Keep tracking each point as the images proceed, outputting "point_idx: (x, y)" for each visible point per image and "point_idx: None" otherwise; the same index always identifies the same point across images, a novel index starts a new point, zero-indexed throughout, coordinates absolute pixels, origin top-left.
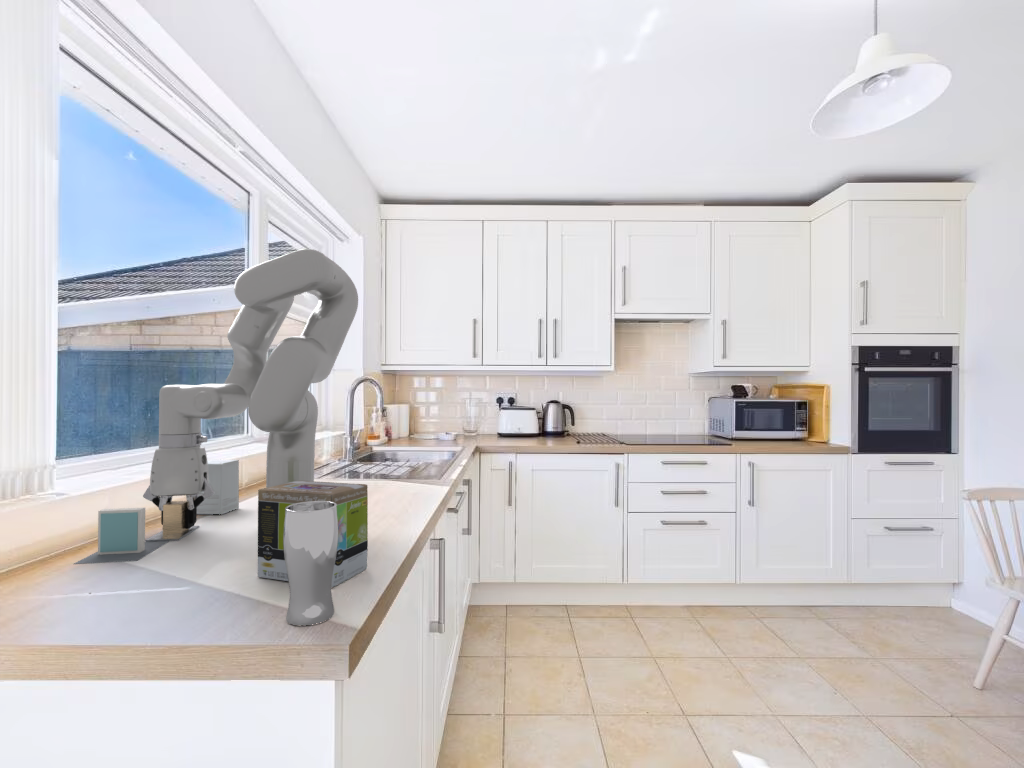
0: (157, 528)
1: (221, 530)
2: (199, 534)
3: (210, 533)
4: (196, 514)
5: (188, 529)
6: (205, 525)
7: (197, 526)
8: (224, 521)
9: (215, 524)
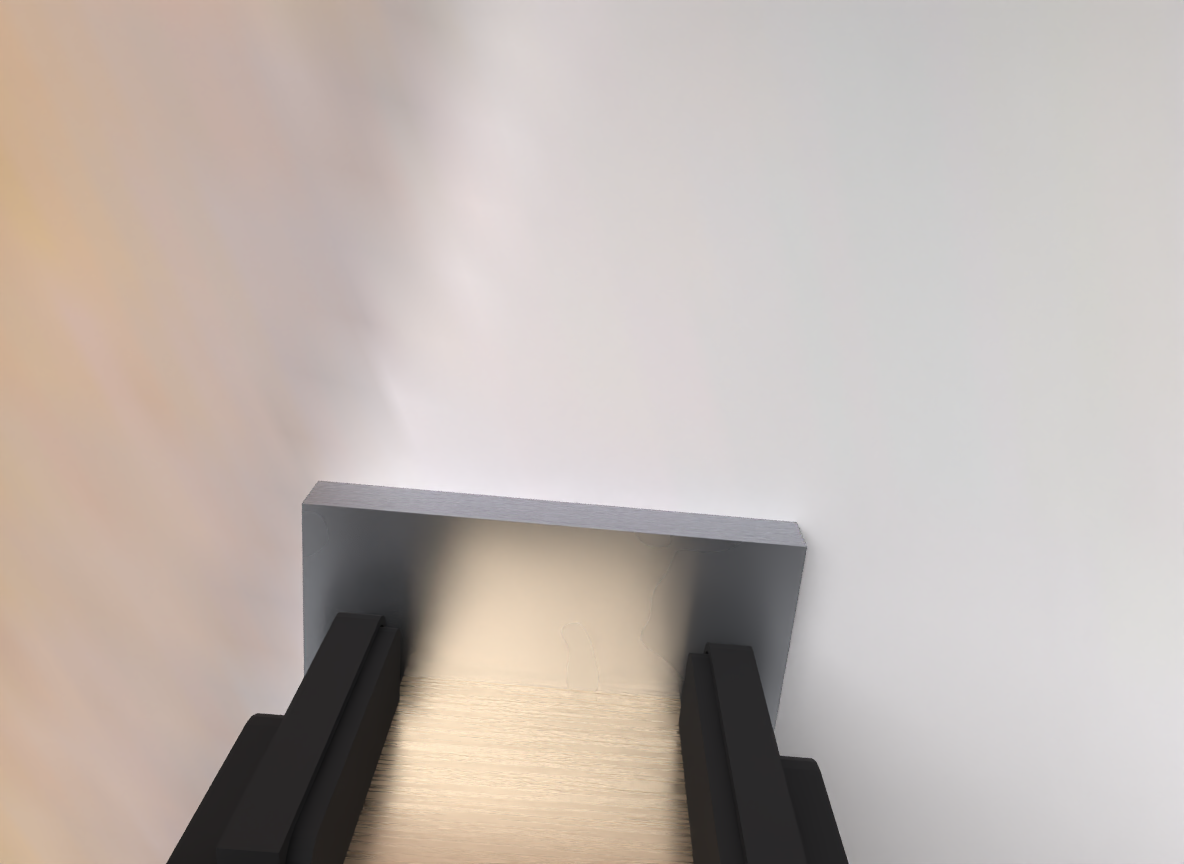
0: (52, 324)
1: (1160, 713)
2: (874, 843)
3: (1019, 830)
4: (841, 849)
5: None
6: (850, 316)
7: (787, 602)
8: (1170, 61)
9: (1020, 284)
